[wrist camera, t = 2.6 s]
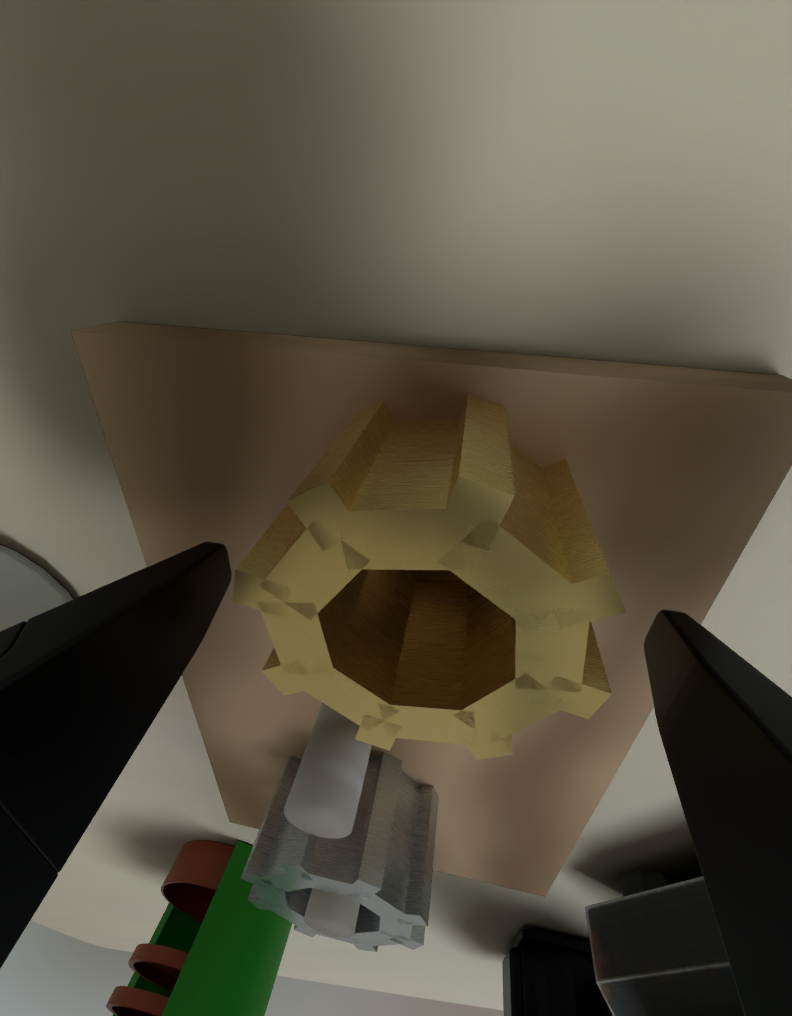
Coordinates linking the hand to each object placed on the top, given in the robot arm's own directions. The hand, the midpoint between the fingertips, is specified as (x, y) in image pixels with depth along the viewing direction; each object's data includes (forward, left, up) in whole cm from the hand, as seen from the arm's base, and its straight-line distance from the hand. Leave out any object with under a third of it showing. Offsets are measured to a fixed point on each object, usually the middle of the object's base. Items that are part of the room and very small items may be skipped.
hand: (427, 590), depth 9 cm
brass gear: (0, 0, -2) cm, 2 cm away
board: (+1, +8, -4) cm, 9 cm away
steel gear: (+2, +14, -2) cm, 14 cm away
